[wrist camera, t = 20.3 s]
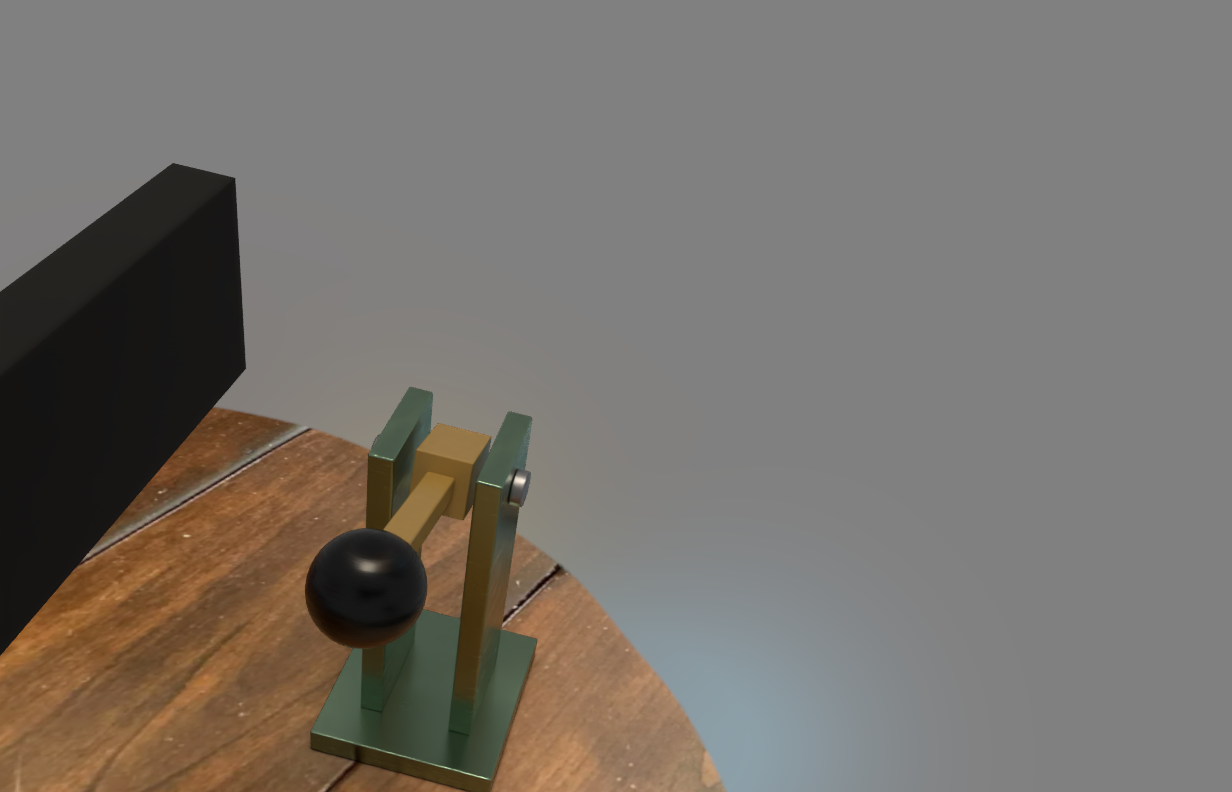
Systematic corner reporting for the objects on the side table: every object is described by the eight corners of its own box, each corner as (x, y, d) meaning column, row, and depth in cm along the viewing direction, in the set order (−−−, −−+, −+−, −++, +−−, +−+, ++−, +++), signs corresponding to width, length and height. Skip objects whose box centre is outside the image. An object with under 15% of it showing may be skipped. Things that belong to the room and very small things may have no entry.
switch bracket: (488, 797, 45) (530, 532, 36) (310, 748, 46) (305, 475, 37) (534, 654, 52) (580, 399, 42) (377, 613, 52) (388, 351, 43)
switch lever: (396, 686, 31) (413, 581, 30) (279, 655, 31) (290, 549, 30) (496, 507, 42) (512, 426, 41) (410, 485, 43) (422, 403, 41)
